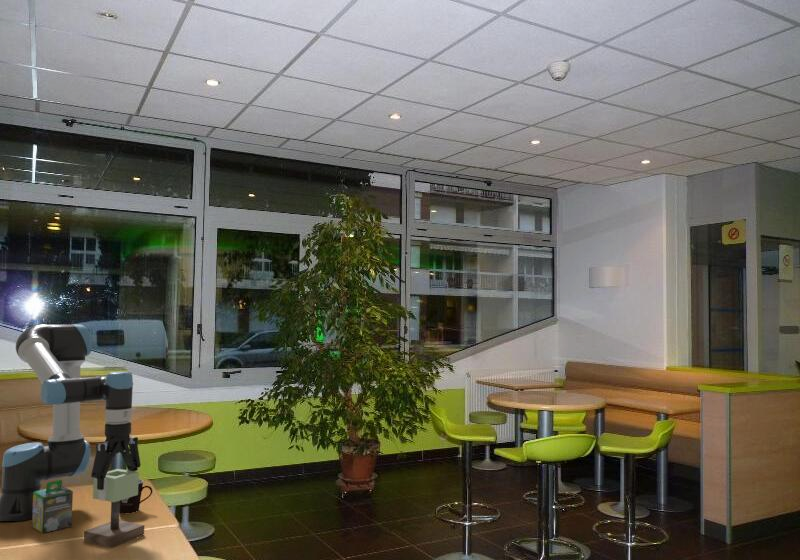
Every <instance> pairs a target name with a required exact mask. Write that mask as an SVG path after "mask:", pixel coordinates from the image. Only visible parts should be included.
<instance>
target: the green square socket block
mask: <svg viewBox="0 0 800 560" xmlns="http://www.w3.org/2000/svg"><path fill="white" fill-rule="evenodd" d="M139 474H140V473H139V471H129V470H128V469H121V468H116V469H112V470H108V472H107V474H106V477H105V478H107V500H106V501H105V502H110V503H111V502H117V501H120V500H123V499H126V498H130V497H133V496H136V495H138V479H140V477H139ZM101 475H102V474H101ZM92 482H93V486H92V489H93V490H92V491H93V492H92V499H94V500H98V496H99V490H98V489H97V478H93V481H92Z"/></svg>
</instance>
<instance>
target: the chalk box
mask: <svg viewBox="0 0 800 560" xmlns="http://www.w3.org/2000/svg"><path fill="white" fill-rule="evenodd" d="M62 484H63V480H62V479H59V480H52V481H48V482H47V483H46V488H44V489H41V490H40V491H35V492H33V515H32V519H31V520H32V523H31V524H32V525H31V526H32V527H31V528H34V529H35V530H36V531H38V532H40V533H41V534H45V533H50V532H53V531H57V530H62V529H68V528H71V527H72V526H73V525H72V524H73V523H72V521H73V498H74V497H73V496H74V495H73V494H74V491H73V490H71V489H69V488H67V487H65V486H63V485H62ZM53 485H57V486H54V487H52V486H53Z"/></svg>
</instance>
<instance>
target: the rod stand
mask: <svg viewBox="0 0 800 560" xmlns="http://www.w3.org/2000/svg"><path fill="white" fill-rule="evenodd" d="M119 512H120V501H117V502H110V521H109V522H106V523H103V524H101V525H98V526H95V527H91V528H89V529H85V530H84V531H83V542H86V543H90V544H95V545H99V546H104V547H107V548H115V547H117V546H120V545H122V544H125V543H127V542H130V541H132V540H135V539H138V538H140V537H139V536H141V535H143V534H144V535H145V525H144V524H139V523H134V522H130V521H125V520H120V513H119ZM144 535H143V536H144ZM137 537H138V538H137ZM141 537H142V536H141Z"/></svg>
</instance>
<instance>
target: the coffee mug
mask: <svg viewBox="0 0 800 560" xmlns="http://www.w3.org/2000/svg"><path fill="white" fill-rule="evenodd" d="M143 485H144V480H143V479H140V478H139V479H138V495H136V496H133V497H130V498H126V499H123V500H120V512H119V514H121V513H124V514H123V515H126V514H125V513H131V514H133V513H132V512H135V513H137V512H136V511H138V510H139V511H140V505H141V504H142V503H143V502H145V501H146V500H147V499H149V498H150V497H151V496H152V495H153V488H152V487H151V486H149V485H144V486H143ZM145 488H148V489H149V491H150V494H149V495H148V496H147V497H145V498H144V499H142V497H141V496H142V492H143V490H144V489H145ZM141 499H142V500H141ZM139 511H138V512H139Z"/></svg>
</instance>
